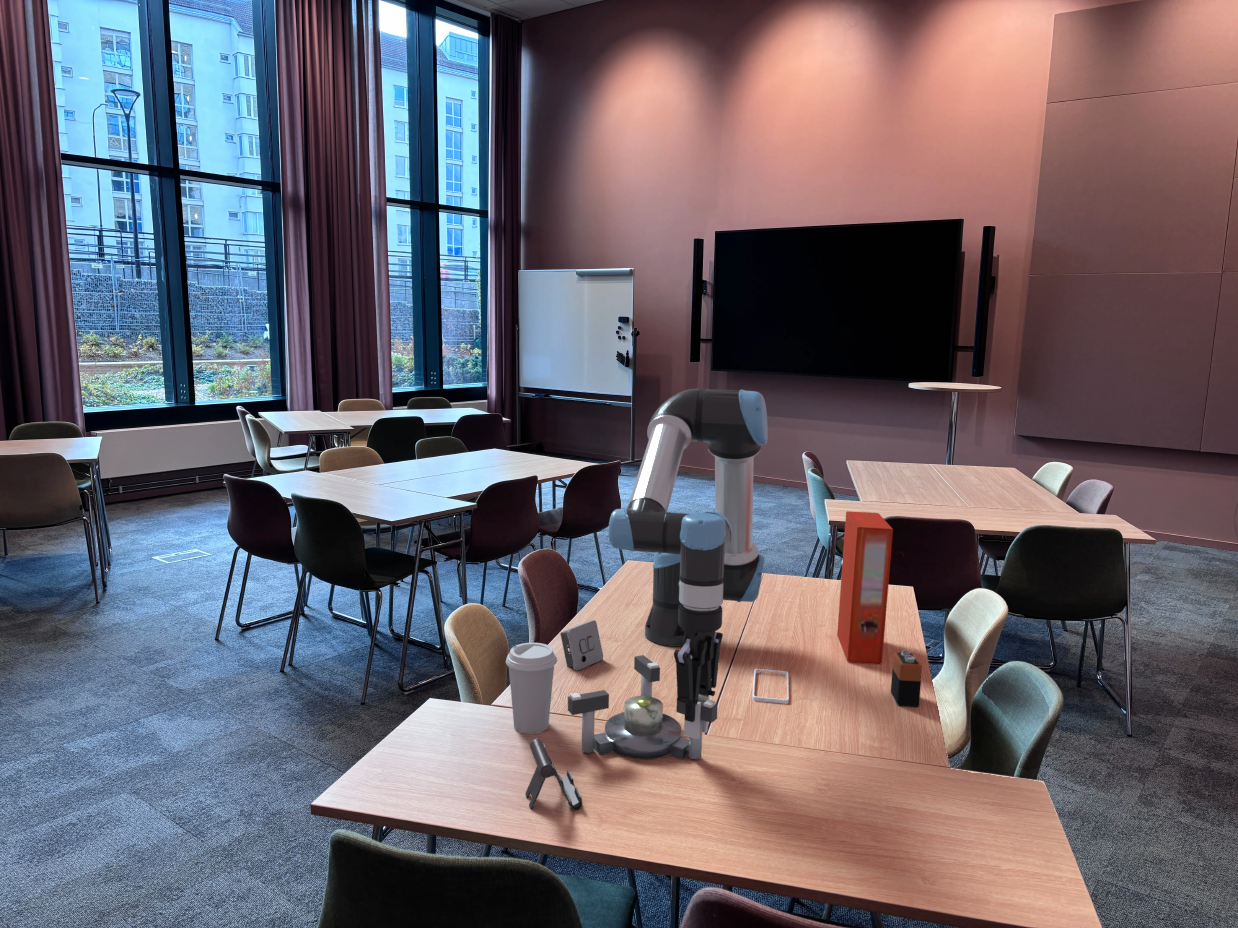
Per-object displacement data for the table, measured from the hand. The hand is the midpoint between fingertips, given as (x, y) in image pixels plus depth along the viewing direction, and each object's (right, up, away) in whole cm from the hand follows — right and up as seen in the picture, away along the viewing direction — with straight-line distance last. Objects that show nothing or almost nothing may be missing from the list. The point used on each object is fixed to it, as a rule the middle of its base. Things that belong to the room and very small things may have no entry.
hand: (695, 732), depth 145 cm
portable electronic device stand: (-24, -7, -13) cm, 28 cm away
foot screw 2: (-8, -2, +18) cm, 20 cm away
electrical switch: (-22, +2, +42) cm, 48 cm away
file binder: (+44, +2, +54) cm, 69 cm away
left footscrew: (0, -5, +1) cm, 5 cm away
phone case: (+19, -1, +31) cm, 36 cm away
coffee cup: (-30, -3, +12) cm, 32 cm away
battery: (+46, -2, +26) cm, 53 cm away
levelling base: (-8, -4, +6) cm, 11 cm away
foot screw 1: (-19, -4, +2) cm, 20 cm away
